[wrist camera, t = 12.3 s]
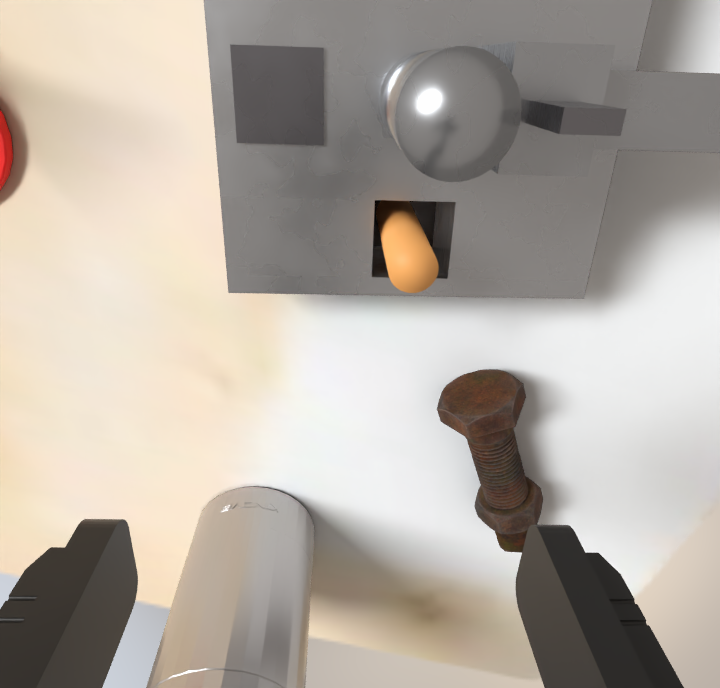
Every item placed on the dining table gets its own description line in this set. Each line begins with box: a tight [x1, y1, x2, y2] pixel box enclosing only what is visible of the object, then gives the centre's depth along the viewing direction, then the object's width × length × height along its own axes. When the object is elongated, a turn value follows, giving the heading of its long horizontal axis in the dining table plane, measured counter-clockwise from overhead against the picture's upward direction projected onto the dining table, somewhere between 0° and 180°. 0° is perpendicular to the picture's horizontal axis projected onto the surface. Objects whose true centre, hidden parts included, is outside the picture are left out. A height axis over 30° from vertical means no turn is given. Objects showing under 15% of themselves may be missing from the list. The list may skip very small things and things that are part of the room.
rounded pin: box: [376, 200, 439, 293], centre depth 28 cm, size 2×2×10 cm
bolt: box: [437, 370, 543, 552], centre depth 39 cm, size 6×5×15 cm
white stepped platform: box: [204, 0, 720, 299], centre depth 24 cm, size 19×24×14 cm
